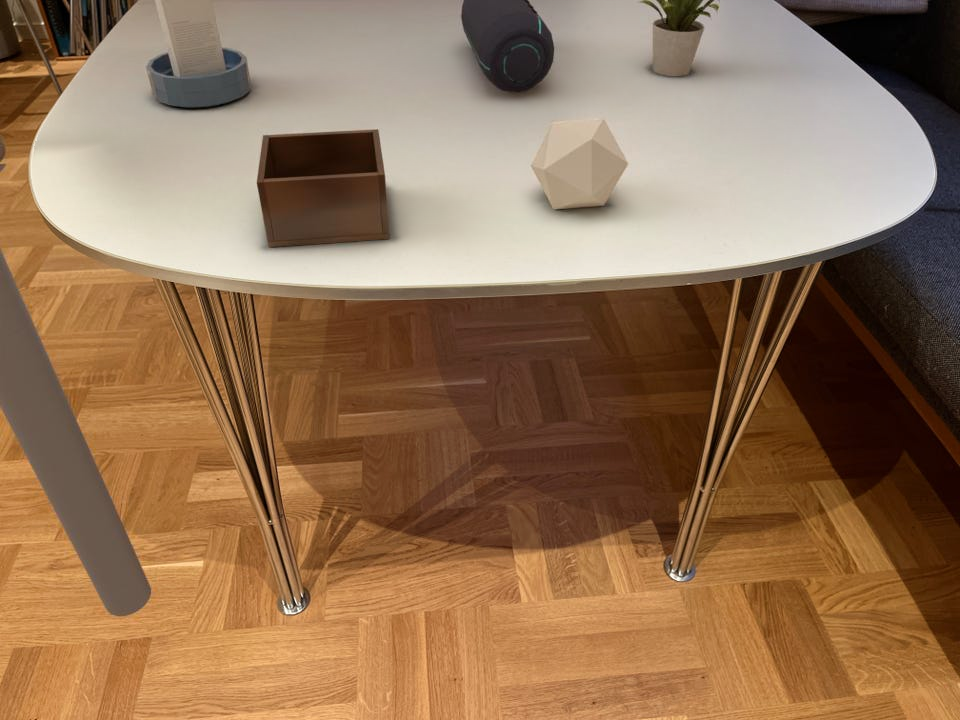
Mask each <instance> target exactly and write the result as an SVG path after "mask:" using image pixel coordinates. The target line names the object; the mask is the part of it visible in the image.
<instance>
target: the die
mask: <svg viewBox="0 0 960 720" xmlns="http://www.w3.org/2000/svg"><path fill="white" fill-rule="evenodd" d="M628 165H629V162H628V160H627V158H626V157H625V155H624V153H623V151H622V149H621V147H620V146H619V144H618V141H617V140H616V138H615V136H614V135H613V132H612V131H611V129H610V127H609V125H608V124H607V121H606V120H605V118H589V119H570V120H558V121H557V120H554V121H551V123H550V124H549V127H548V129H547V131H546V133H545V135H544V137H543V139H542V141H541V144H540V145H539V147H538V149H537V152H536V153H535V156H534V157H533V160H532V161H531V164H530V167H531V169H532V171H533V173H534V175H535V177H536V179H537V180H538V182H539V184H540V187H541V189H542V190H543V192H544V194H545V196H546V198H547V200H548V202H549V203H550V205H551V207H552V209H553V210H555V211H556V210H566V209H567V210H568V209H580V208H581V209H582V208H593V207H594V208H595V207H604V206H605V204H606V203H607V201H608V200H609V198H610V196H611V194H612V192H613V190H614V189H615V188H616V186H617V184H618V182H619V181H620V179H621V177H622V176H623V174H624V173H625V171H626V168H627V167H628Z"/></svg>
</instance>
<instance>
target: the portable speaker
mask: <svg viewBox="0 0 960 720" xmlns="http://www.w3.org/2000/svg"><path fill="white" fill-rule="evenodd" d="M460 20H461V24H462V29H463V32H464V34H465V36H466V38H467V41H468V43H469V45H470V47H471V50H472V52H473V54H474V56H475V59H476V61H477V63H478V65H479V67H480V70H481V72H482V73H483V74H484V76H485V77H486V78H487V80H488V81H489V82H490V83H491V84H492V85H493V86H495V88H496V89H498V90H501V91H503V92H507V93H523V92H527V91H529V90H531V89H533V88H534V87H536V86H537V85H539V84H540V83H541V82H542V81H543V80H544V79H545V78H546V77H547V76H548V74H549V72H550V70H551V68H552V66H553V63H554V59H555V44H554V39H553V34H552V32H551V30H550V29H549V28H548V26H547V24H546V23H545V22H544V20H543V18H541V16H540V15H539V14H538V11H537V10H536V9H535V8H534V6H533V5H532V4H531V2H530V1H529V0H463V2H462V5H461V14H460Z"/></svg>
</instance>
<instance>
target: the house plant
mask: <svg viewBox="0 0 960 720" xmlns="http://www.w3.org/2000/svg"><path fill="white" fill-rule="evenodd" d="M655 1H656V2H657V3H658V4H659V5H660V7H661V9H662V10H663V12H664V13H665V16H666V17H663V13H662V11H661V9H660V8H659V7H658V6H657V5H656V4H655V3H654V2H652V1H651V0H640V1H638V2H637V4H639V3H641V4H645V5H647V6H649V7H651V8H653V9H654V10H655V11H656V12H657V13H658V14H659V16H660V18H658V19H655V20H654V21H653V22H652V71H653V72H654V73H656V74H657V75H661V76H667V77H683V76H687V75H688V74H689V73H690V71H691V69H692V65H693V62H694V60H695V57H696V53H697V51H698V47H699V44H700V42H701V39H702V37H703V33H704V30H705V25H704V23H702V22H700V21H698V20H697V19H698V18H699V16H706V17H708V18H710V20H713V19H712V16H711V13H710V12H708V11H705V10H706V9H707V8H708V7H710V8H713V9H714V11H715V12H716V13H718V10H719V8H720V6H719V5H718V3H717V4H716V3H713V2H714V1H715V0H707V1H706V3H704V5H702V6H701V4H702V3H703V1H704V0H655ZM718 2H719V3H720V1H718Z"/></svg>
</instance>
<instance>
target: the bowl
mask: <svg viewBox="0 0 960 720" xmlns="http://www.w3.org/2000/svg"><path fill="white" fill-rule="evenodd" d="M222 51H223V56H224V61H225V66H226V71H224V72H221V73H217V74H211V75H205V76H195V77H177V76H174V74H173V70H172V66H171V62H170V58H169V54H168V51H167V52H164V53H160V54H158V55H156V56H155V57H152V58H151V59H149V60H148V63H147V64H146V66H145V69H146V72H147V76H148V80H149V84H150V88H151V92H152V95H153V97H154V98H155V99H156V100H157V101H158V102H160V103H162V104H165V105H168V106H172V107H179V108H190V109H191V108H193V109H194V108H195V109H196V108H197V109H198V108H208V107H209V108H210V107H216V106H221V105H223V104H228V103H231V102H233V101H235V100H237V99H241V98H242V97H244V96H245V95H246V94H248V93H249V92H251V86H252V82H251V81H252V80H251V76H250V75H251V74H250V69H249V65H248V64H249V63H248V58H247V56H246V55H245V54H244V53H243V52H241V51H239V50H237V49H233V48H230V47H222Z"/></svg>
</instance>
